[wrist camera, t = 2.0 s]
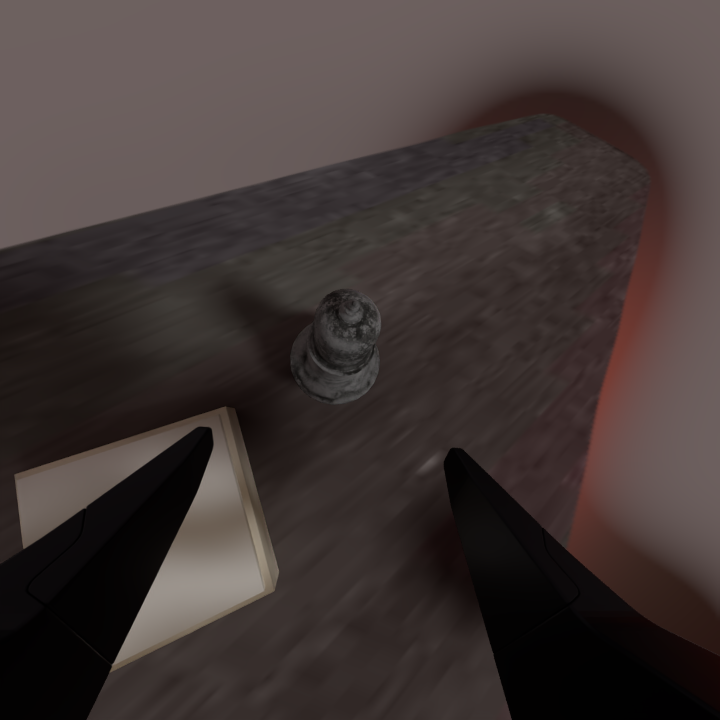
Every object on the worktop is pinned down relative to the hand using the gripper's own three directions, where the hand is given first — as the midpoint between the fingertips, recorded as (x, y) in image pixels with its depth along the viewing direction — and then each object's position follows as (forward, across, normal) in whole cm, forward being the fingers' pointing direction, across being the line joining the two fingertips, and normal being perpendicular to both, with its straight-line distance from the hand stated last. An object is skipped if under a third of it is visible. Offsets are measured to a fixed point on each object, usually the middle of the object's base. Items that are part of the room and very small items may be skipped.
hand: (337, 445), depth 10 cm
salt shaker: (+11, 0, +4) cm, 11 cm away
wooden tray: (+3, +9, +11) cm, 15 cm away
